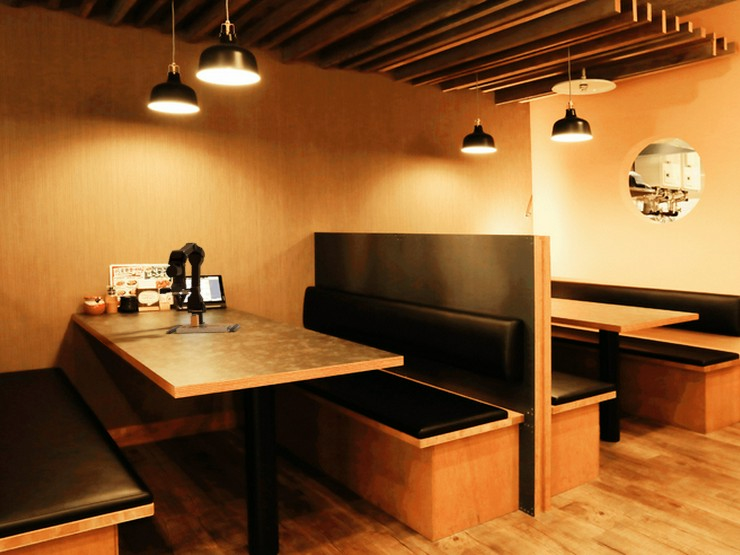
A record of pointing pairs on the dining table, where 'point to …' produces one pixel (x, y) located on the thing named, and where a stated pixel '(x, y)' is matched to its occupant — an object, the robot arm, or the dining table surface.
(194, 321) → the block
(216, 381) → the dining table surface
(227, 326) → the faceplate
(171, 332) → the cord
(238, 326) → the cord
